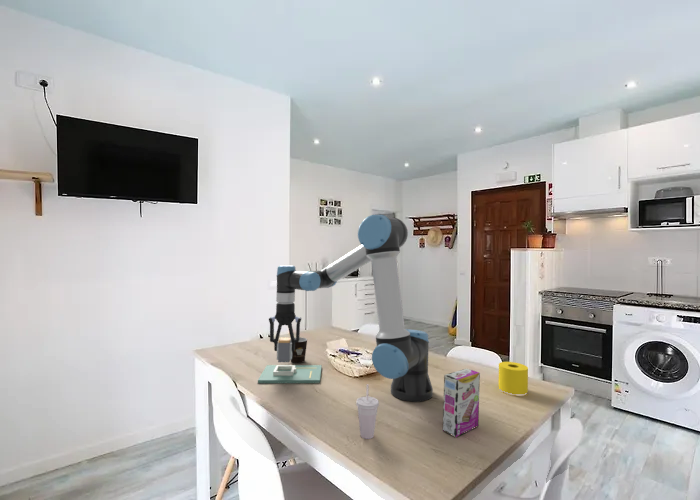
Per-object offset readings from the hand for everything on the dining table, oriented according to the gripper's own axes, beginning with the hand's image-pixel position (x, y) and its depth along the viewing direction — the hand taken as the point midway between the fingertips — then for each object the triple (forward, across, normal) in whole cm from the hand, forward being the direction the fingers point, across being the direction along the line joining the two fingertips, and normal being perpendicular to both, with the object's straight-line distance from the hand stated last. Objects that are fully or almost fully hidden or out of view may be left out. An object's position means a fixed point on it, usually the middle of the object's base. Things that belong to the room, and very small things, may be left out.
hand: (284, 358), depth 145 cm
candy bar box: (+6, -58, +45) cm, 74 cm away
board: (+7, -3, 0) cm, 8 cm away
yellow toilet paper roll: (+6, -88, +17) cm, 90 cm away
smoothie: (+7, -30, +48) cm, 57 cm away
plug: (+1, 0, 0) cm, 1 cm away
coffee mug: (+7, -2, -19) cm, 20 cm away
